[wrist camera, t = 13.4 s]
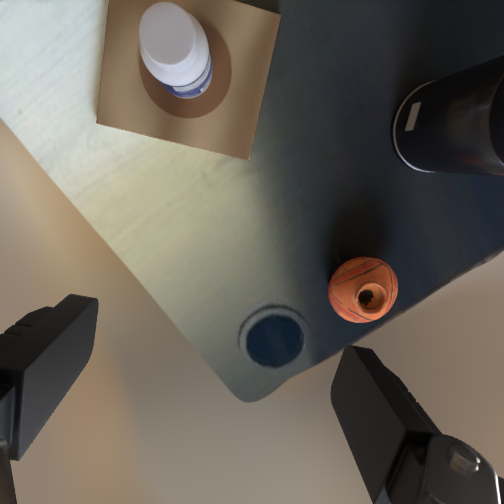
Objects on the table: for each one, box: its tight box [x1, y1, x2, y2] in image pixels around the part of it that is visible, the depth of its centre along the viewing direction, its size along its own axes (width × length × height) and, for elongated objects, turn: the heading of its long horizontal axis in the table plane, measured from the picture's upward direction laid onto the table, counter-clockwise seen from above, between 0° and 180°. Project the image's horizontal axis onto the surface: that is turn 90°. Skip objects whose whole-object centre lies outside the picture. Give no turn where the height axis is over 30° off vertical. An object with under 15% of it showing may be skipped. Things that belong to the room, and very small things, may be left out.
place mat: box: [96, 0, 281, 160], centre depth 33 cm, size 16×14×1 cm
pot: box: [328, 257, 398, 323], centre depth 38 cm, size 8×8×7 cm
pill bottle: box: [139, 2, 213, 98], centre depth 28 cm, size 5×5×10 cm
